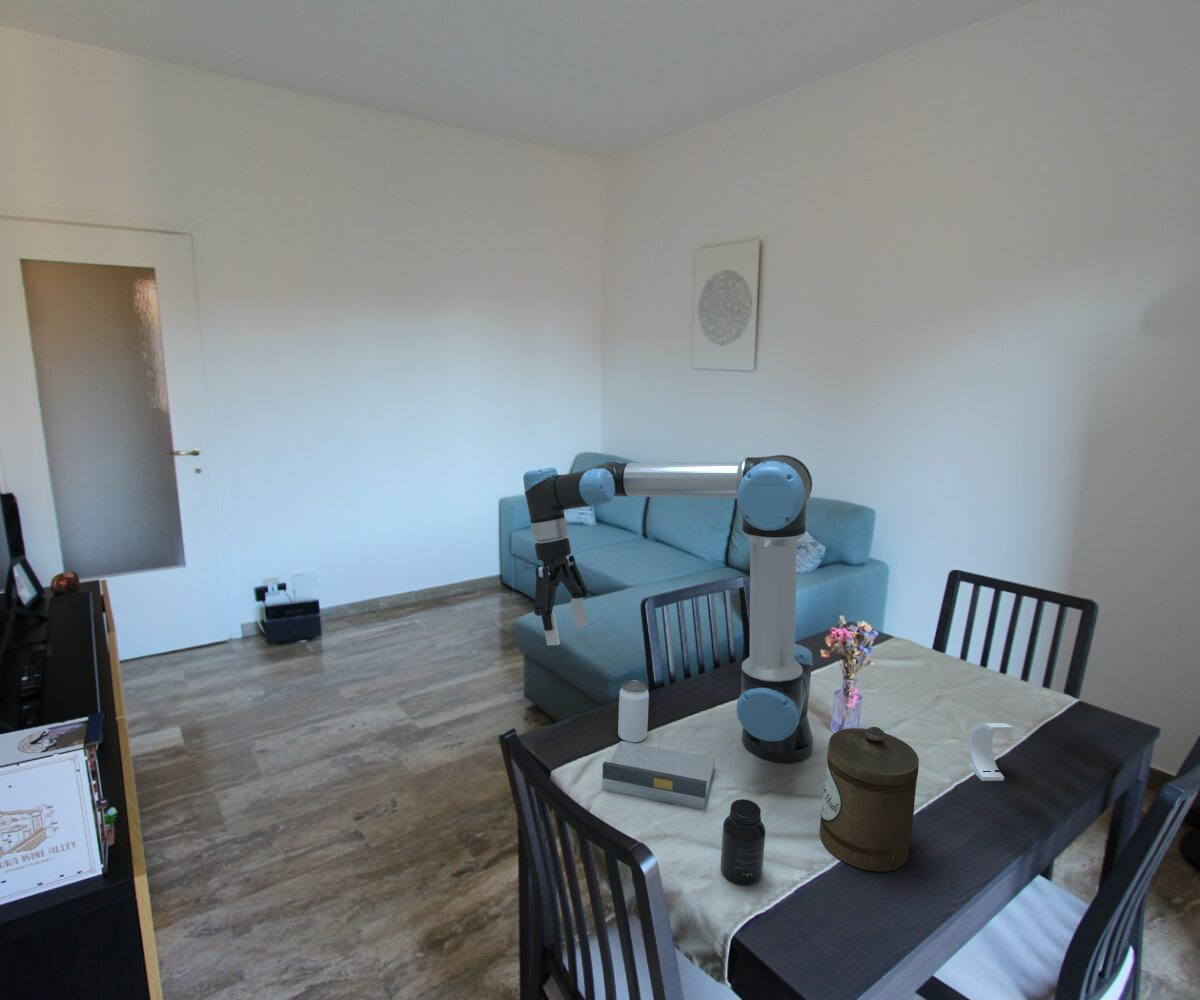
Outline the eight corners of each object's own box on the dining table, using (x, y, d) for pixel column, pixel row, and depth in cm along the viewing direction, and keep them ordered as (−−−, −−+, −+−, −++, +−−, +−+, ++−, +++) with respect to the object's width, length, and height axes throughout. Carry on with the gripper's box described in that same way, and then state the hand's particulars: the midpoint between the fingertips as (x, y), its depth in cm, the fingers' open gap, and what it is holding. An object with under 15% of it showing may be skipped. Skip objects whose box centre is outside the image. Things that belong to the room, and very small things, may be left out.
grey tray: (713, 768, 145) (715, 744, 144) (704, 811, 131) (705, 785, 130) (620, 751, 150) (621, 728, 149) (601, 790, 136) (602, 765, 135)
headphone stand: (982, 780, 143) (990, 727, 141) (965, 763, 149) (973, 712, 146) (1003, 780, 143) (1012, 727, 141) (986, 763, 149) (994, 712, 147)
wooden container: (829, 805, 134) (840, 700, 129) (913, 833, 127) (928, 722, 122) (809, 851, 121) (821, 736, 117) (901, 885, 114) (918, 764, 109)
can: (647, 729, 159) (649, 680, 157) (646, 744, 153) (648, 694, 150) (619, 727, 160) (620, 678, 157) (616, 742, 154) (618, 691, 151)
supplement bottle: (715, 857, 119) (720, 795, 117) (754, 856, 120) (760, 793, 117) (726, 888, 113) (730, 822, 110) (767, 886, 113) (773, 820, 111)
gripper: (562, 532, 165) (578, 620, 166) (506, 552, 142) (524, 653, 143) (590, 528, 161) (606, 618, 162) (538, 548, 139) (556, 652, 140)
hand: (568, 635), depth 153 cm, fingers open, 13 cm apart
